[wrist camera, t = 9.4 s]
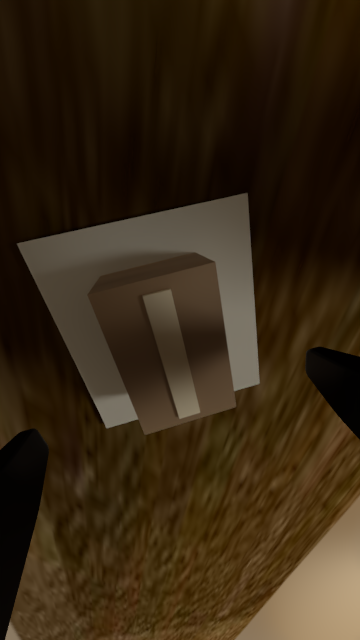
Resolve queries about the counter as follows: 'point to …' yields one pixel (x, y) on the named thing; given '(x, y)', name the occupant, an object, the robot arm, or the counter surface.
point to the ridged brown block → (167, 339)
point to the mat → (136, 250)
